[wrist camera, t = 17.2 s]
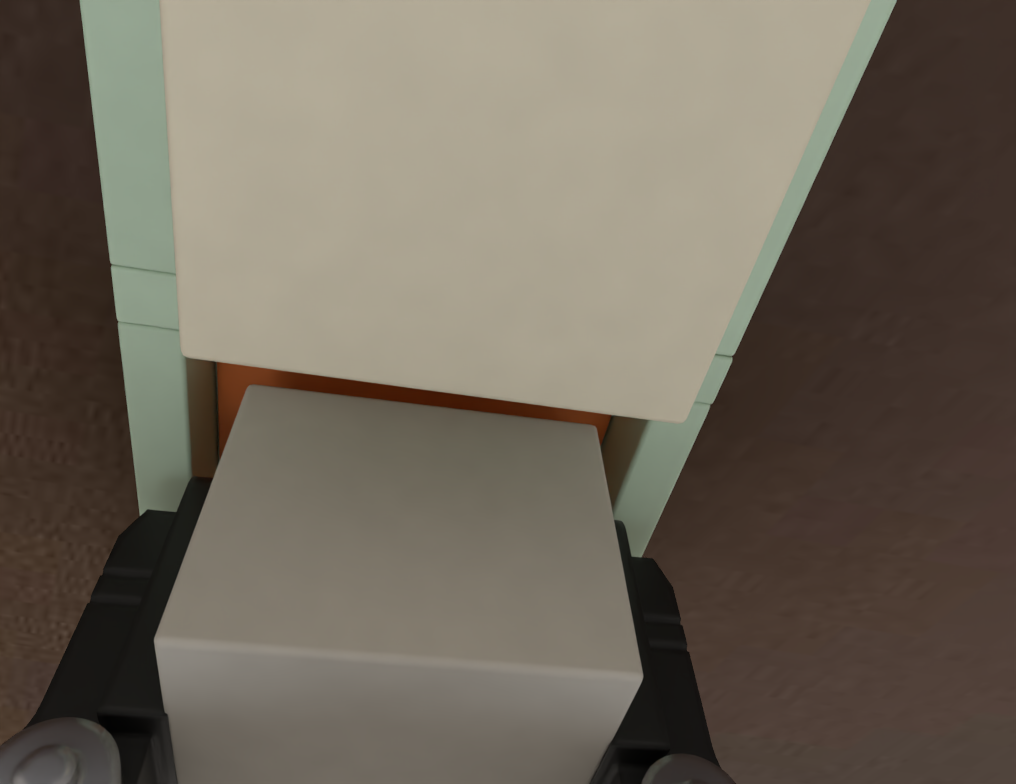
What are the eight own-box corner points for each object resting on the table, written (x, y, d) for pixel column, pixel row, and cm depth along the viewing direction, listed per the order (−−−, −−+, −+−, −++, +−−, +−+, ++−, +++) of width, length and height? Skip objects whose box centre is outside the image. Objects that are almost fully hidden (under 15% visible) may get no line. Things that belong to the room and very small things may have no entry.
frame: (112, -579, 7) (-5, -696, 5) (939, -327, 8) (1064, -354, 6) (187, 560, 16) (154, 653, 14) (572, 597, 17) (583, 687, 15)
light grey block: (252, 604, 13) (183, 861, 10) (247, 380, 10) (150, 641, 7) (530, 627, 14) (547, 874, 11) (597, 422, 11) (647, 678, 8)
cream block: (276, -305, 7) (131, -367, 4) (757, -179, 8) (944, -153, 5) (267, 179, 10) (178, 360, 7) (623, 240, 11) (685, 428, 8)
